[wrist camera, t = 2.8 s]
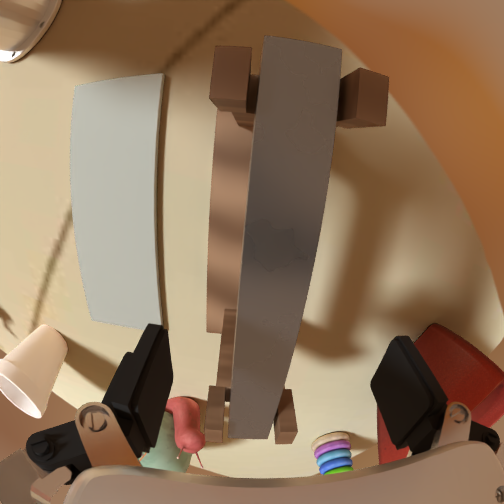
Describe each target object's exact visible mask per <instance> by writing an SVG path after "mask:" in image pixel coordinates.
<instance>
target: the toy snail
mask: <svg viewBox="0 0 504 504" xmlns="http://www.w3.org/2000/svg"><path fill="white" fill-rule="evenodd" d="M205 443H206V441H205V435H204V434H203V433H201V432H200V408H199V406H198V404H197V403H196V402H195V401H194V400H192V399H190V398H186V397H174V398H171V399H168V401H167V405H166V408H165V412H164V416H163V420H162V423H161V427H160V431H159V435H158V439H157V443H156V446H155V448H152V447H151V448H150V452H149V453H145V452H142V456H141V457H140V458H138V459H139V461H140V462H141V464H142V466H143V467H149V468H156V469H162V470H169V471H176V472H182V473H185V472H186V470H187V468H188V467H189V464H190V460H191V456H192V454H194V453H196V455H197V457H198V460H199V462H200V459H199V456H198V453H197V452H198V451H199V450H200V449H202V448H203V447H204V446H205ZM200 464H201V462H200ZM201 468H203V466H202V464H201Z"/></svg>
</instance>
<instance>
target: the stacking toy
mask: <svg viewBox="0 0 504 504" xmlns="http://www.w3.org/2000/svg"><path fill="white" fill-rule="evenodd" d="M349 440H350V438H349V436H348V434H346V433H342V432H335V433H330V434H326V435H324V436H321V437H319V438H318V439H316V440H315V441H314V442H313V443H312V450H313V451H314V455H315V457H316V458H317V465H318V466H319V467H320V469H319V471H320V473H321V474H323V475H327V474H334V473H341V472H347V471H353V468H352V467H351V466H352V460H351V459H350V458H351V452H350V451H349V450H350V448H351V445H350V443H349Z"/></svg>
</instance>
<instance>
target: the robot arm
mask: <svg viewBox="0 0 504 504" xmlns="http://www.w3.org/2000/svg"><path fill="white" fill-rule="evenodd" d="M61 1H62V0H0V61H2V62H6V63H10V62H14V61H16V60H18V59H20V58H21V57H23V56H24V55H25V54H26V53H28V52H29V51H30V50H31V49H32V48H33V47H34V46H35V45H36V44H37V42H38V41H39V40H40V39H41V38H42V36H43V35H44V34H45V32H46V31H47V30H48V28H49V26H50V25H51V23H52V22H53V20H54V18H55V16H56V14H57V12H58V10H59V7H60V5H61ZM172 383H173V369H172V362H171V354H170V346H169V337H168V330H167V329H164V328H163V325H158V324H151V323H149V324H148V325H147V326H146V328H145V330H144V332H143V334H142V336H141V338H140V340H139V342H138V344H137V346H136V348H135V350H134V353H132V352H127V353H126V354H125V355H124V357H123V359H122V361H121V363H120V365H119V367H118V369H117V371H116V373H115V375H114V377H113V379H112V381H111V383H110V385H109V387H108V390H107V392H106V394H105V396H104V398H103V400H102V402H101V403H100V402H89V403H86V404H84V405H82V406H81V407H80V408H79V409H78V410H77V412H76V415H75V420H74V421H71V422H68V423H65V424H62V425H59V426H56V427H53V428H49V429H46V430H43V431H40V432H37V433H34V434H32V435H31V436H30V437H29V438H28V440H27V443H26V449H24V450H23V451H22V450H21V449H19V450H17V451H16V452H14V453H13V454H11V455H10V456H8V457H7V458H5V459H4V460H3V461H1V462H0V501H1V503H2V504H50V500H51V497H52V496H53V495H54V494H55V493H57V492H58V490H57V489H58V488H59V487H61V486H62V485H63V484H64V485H70V484H72V485H71V487H70V489H69V491H68V493H67V495H66V498H65V500H64V503H63V504H504V444H503V443H501V444H500V439H499V436H498V434H497V433H496V431H494V430H493V429H491V428H489V427H486V426H484V425H481V424H479V423H477V422H474V421H472V420H471V412H470V410H469V409H468V407H467V406H466V405H465V404H463V403H461V402H452V403H450V404H449V405H447V404H446V403H447V401H448V400H449V399H448V397H447V396H446V394H445V392H444V391H443V389H442V387H441V386H440V384H439V382H438V381H437V379H436V377H435V376H434V374H433V373H432V371H431V369H430V368H429V366H428V365H427V363H426V362H425V360H424V358H423V357H422V355H421V354H420V352H419V351H418V349H417V348H416V346H415V345H414V343H413V342H412V340H411V339H410V337H409V336H396V337H395V338H394V339H393V340H392V341H391V342H390V344H389V346H388V349H387V351H386V353H385V355H384V357H383V359H382V361H381V363H380V365H379V367H378V369H377V371H376V373H375V374H374V376H373V378H372V380H371V384H370V386H371V390H372V392H373V395H374V397H375V400H376V402H377V405H378V407H379V410H380V412H381V415H382V418H383V420H384V423H385V426H386V428H387V431H388V434H389V436H390V439H391V442H392V444H394V445H395V446H396V449H397V450H399V449H403V448H406V447H407V446H409V449H410V450H409V452H408V455H407V457H406V458H403V459H400V460H396V461H393V462H389V463H385V464H381V465H377V466H373V467H368V468H363V469H358V470H353V471H347V472H341V473H334V474H327V475H318V476H308V477H295V478H269V479H256V478H230V477H217V476H206V475H197V474H189V473H182V472H176V471H169V470H162V469H156V468H149V467H143V466H142V464H141V462H140V461H139V459H138V458H140V457H141V456H142V452H145V453H149V452H150V448H151V447H152V448H155V446H156V443H157V439H158V435H159V431H160V427H161V423H162V420H163V416H164V412H165V408H166V405H167V401H168V397H169V394H170V390H171V386H172Z"/></svg>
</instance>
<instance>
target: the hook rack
mask: <svg viewBox="0 0 504 504" xmlns="http://www.w3.org/2000/svg"><path fill="white" fill-rule="evenodd" d="M251 51H252V48H251V47H236V46H216V47H215V54H214V62H213V70H212V78H211V86H210V95H209V99H210V100H211V101H212V102H213V103H214V104H215V105H216V107H217V108H218V109H217V119H216V130H215V141H214V153H213V166H212V181H211V197H210V215H209V236H208V265H207V332H209V333H220V334H222V336H221V345H220V354H219V363H218V372H217V382H216V386H209V393H208V401H207V410H206V418H205V427H204V432H205V441H208V442H219V443H222V437H223V421H224V405H225V401H226V402H230V391H231V378H232V364H233V351H234V338H235V326H236V313H237V301H238V289H239V277H240V265H241V254H242V242H243V231H244V220H245V209H246V198H247V188H248V177H249V167H250V157H251V146H252V136H253V126H254V117H255V107H256V97H257V88H258V78H259V75H250V71H251ZM388 87H389V77H387V76H385V75H381V74H379V73H376V72H373V71H369V70H366V69H363V68H358V69H357V70H355V71H353V72H352V73H350V74H348V75H347V76H345V77H343V78H341V79H340V87H339V99H338V110H337V120H336V127H338V126H339V127H343V128H360V127H376V126H386V116H387V104H388ZM274 432H275V444H292V442H293V440H294V438H295V436H296V434H297V432H298V429H297V423H296V416H295V409H294V403H293V397H292V390H291V389H285V386H284V388H283V391H282V395H281V398H280V401H279V404H278V408H277V411H276V414H275V417H274Z"/></svg>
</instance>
